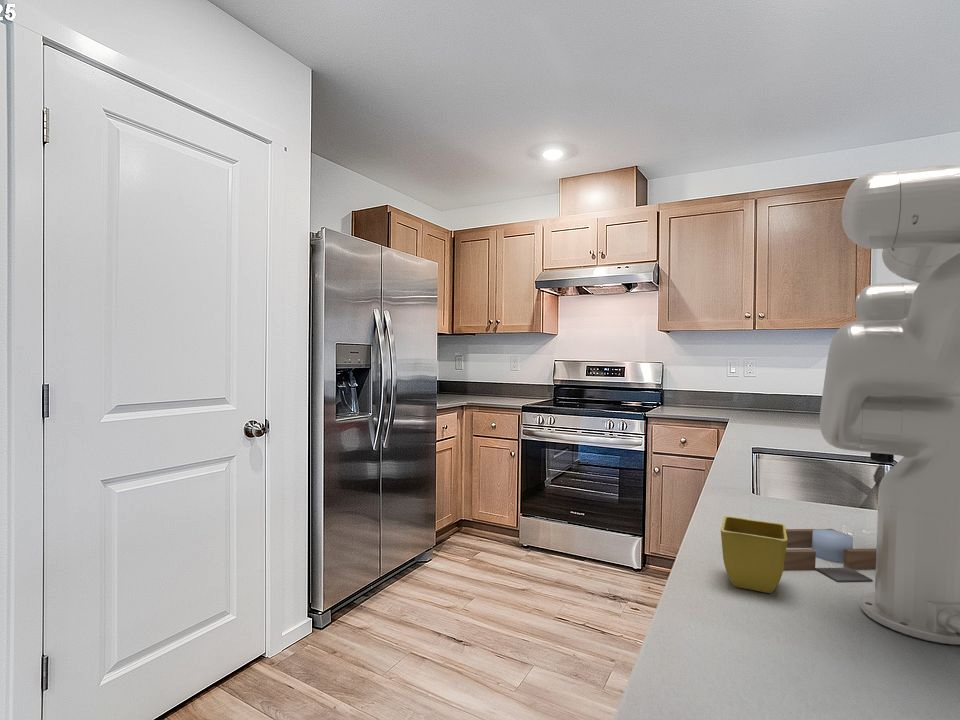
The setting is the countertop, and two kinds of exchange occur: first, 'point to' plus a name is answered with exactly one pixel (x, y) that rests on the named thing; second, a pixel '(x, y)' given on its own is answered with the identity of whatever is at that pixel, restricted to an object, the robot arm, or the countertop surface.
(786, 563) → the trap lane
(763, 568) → the flower pot
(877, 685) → the countertop surface
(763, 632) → the countertop surface
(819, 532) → the pale blue rounded cube
